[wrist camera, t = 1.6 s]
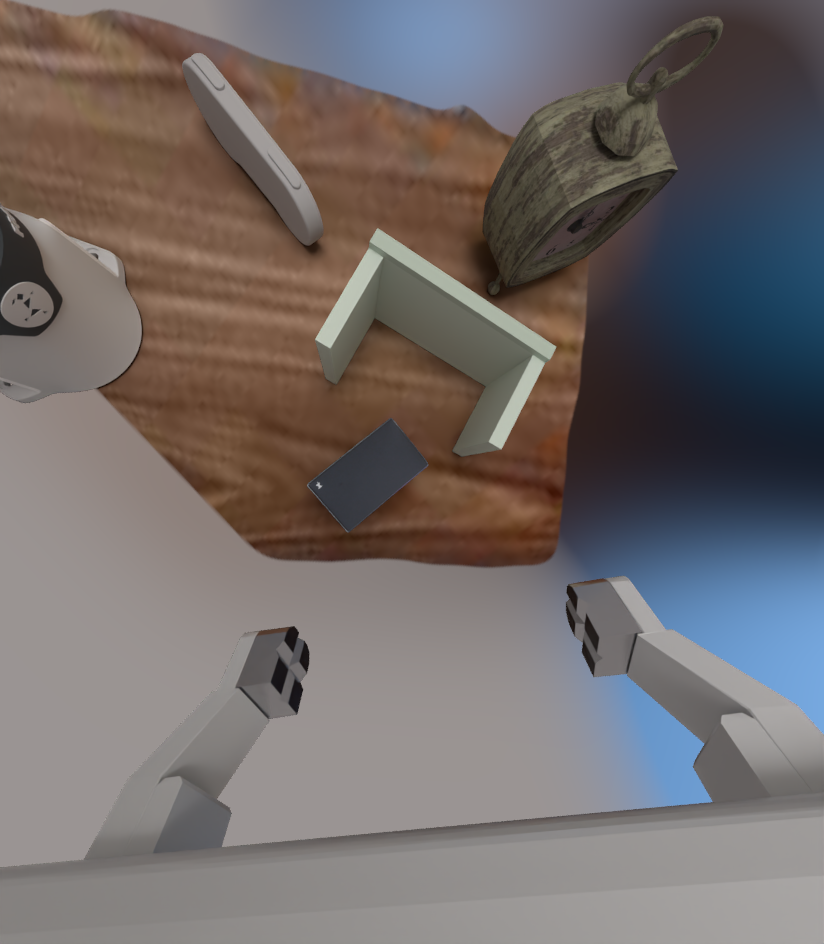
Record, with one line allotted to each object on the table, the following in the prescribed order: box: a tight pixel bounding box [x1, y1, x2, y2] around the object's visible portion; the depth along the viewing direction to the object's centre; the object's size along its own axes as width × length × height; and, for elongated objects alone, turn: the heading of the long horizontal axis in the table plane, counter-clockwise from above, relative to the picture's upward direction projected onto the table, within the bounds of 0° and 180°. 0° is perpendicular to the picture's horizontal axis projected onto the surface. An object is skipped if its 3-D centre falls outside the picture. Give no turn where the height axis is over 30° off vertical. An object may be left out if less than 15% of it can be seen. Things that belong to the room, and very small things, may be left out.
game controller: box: [182, 53, 323, 245], centre depth 37 cm, size 20×2×8 cm, turn 41°
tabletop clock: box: [483, 16, 723, 295], centre depth 34 cm, size 14×9×25 cm, turn 115°
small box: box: [307, 418, 428, 532], centre depth 37 cm, size 11×6×10 cm, turn 130°
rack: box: [315, 228, 556, 457], centre depth 37 cm, size 20×12×13 cm, turn 62°
